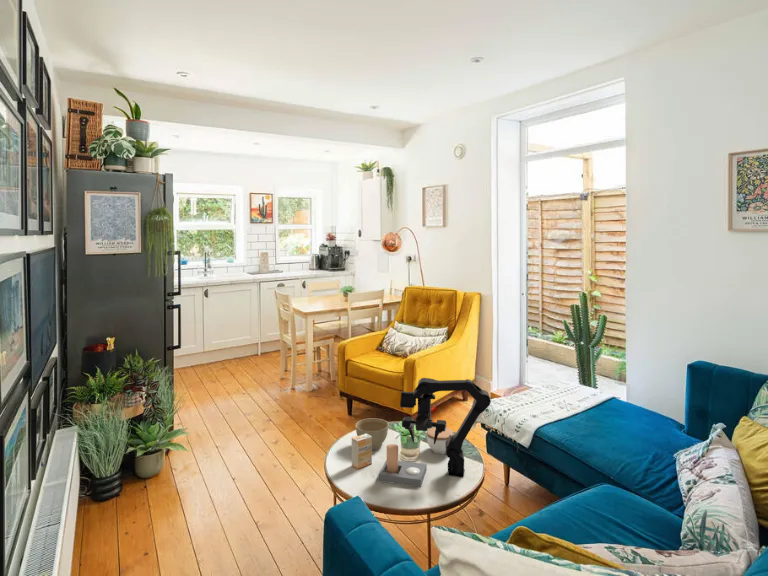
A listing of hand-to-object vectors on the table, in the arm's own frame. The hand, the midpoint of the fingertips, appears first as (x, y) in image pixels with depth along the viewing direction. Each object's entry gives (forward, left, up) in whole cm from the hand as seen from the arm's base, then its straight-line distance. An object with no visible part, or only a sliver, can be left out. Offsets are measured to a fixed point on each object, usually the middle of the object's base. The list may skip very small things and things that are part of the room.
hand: (424, 442), depth 205 cm
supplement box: (+28, +1, -13) cm, 31 cm away
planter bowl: (+29, -19, -13) cm, 37 cm away
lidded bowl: (-4, -22, -13) cm, 26 cm away
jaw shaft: (+12, +7, -13) cm, 19 cm away
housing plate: (+8, +6, -13) cm, 16 cm away
